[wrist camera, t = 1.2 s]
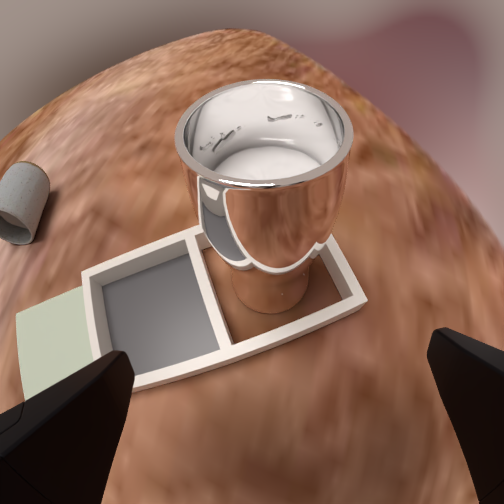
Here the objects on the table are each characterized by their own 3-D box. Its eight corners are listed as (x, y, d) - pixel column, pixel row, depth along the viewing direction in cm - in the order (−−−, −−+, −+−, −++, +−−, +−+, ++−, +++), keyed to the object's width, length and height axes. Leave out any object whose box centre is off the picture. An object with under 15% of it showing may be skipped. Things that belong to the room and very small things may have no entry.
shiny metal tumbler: (211, 295, 23) (131, 158, 9) (252, 227, 25) (230, 67, 12) (290, 335, 21) (322, 228, 7) (326, 259, 23) (374, 102, 10)
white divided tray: (302, 205, 26) (304, 188, 24) (358, 310, 21) (367, 300, 19) (18, 315, 23) (3, 307, 20) (30, 411, 18) (13, 409, 16)
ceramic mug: (62, 186, 30) (31, 147, 23) (44, 241, 27) (3, 204, 20) (15, 202, 31) (-14, 171, 24) (-1, 251, 27) (-37, 222, 20)
